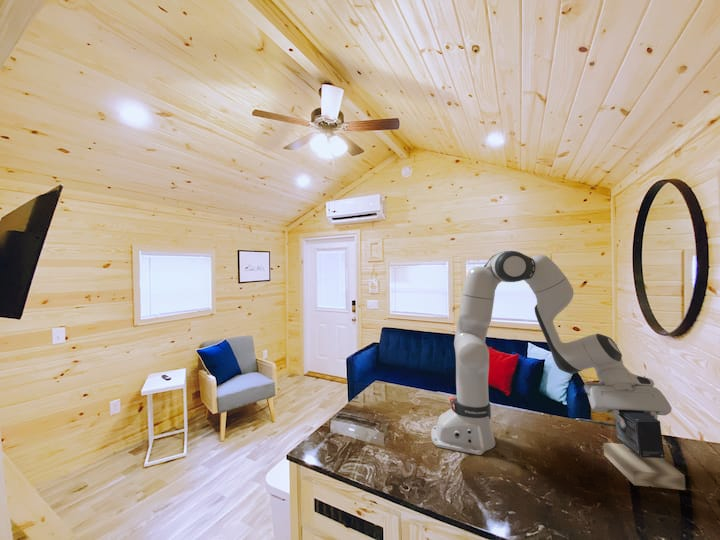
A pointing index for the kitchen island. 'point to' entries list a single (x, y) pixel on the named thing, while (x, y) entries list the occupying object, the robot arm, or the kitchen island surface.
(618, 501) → the kitchen island surface
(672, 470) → the plinth
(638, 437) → the small box
